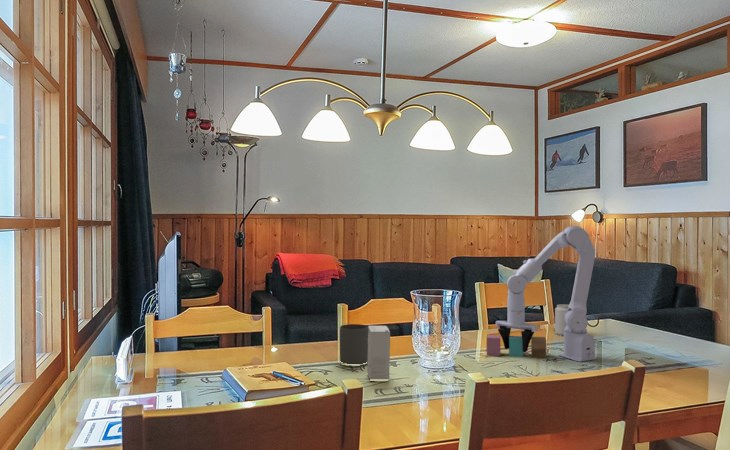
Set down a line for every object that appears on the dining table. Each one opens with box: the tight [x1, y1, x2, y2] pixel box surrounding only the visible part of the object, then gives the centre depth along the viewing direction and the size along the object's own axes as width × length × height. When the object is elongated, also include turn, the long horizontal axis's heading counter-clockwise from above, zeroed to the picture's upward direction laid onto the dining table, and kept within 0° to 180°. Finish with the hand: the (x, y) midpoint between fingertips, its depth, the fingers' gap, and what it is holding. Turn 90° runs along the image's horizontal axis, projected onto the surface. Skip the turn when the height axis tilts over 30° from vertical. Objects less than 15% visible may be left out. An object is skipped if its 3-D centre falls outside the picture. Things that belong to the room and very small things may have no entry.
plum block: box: [486, 334, 501, 357], centre depth 193 cm, size 4×4×6 cm
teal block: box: [508, 335, 524, 357], centre depth 192 cm, size 4×4×6 cm
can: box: [554, 303, 569, 337], centre depth 226 cm, size 8×8×12 cm
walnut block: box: [530, 336, 547, 358], centre depth 191 cm, size 4×4×6 cm
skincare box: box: [366, 325, 391, 380], centre depth 164 cm, size 8×6×15 cm
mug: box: [339, 323, 368, 364], centre depth 183 cm, size 14×9×12 cm
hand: (516, 350), depth 192 cm, fingers closed on teal block, 6 cm apart
